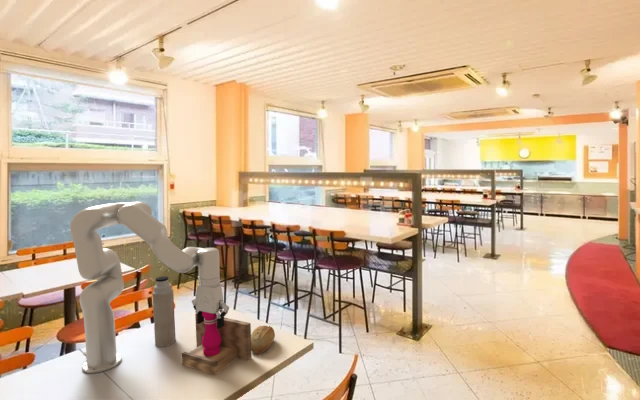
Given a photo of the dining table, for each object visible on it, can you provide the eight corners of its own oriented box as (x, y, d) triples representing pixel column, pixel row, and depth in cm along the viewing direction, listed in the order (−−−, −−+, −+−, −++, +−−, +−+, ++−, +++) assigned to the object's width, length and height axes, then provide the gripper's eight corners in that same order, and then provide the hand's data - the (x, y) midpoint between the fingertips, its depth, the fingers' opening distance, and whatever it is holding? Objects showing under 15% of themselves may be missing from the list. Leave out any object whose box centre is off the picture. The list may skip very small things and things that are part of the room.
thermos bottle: (175, 336, 155) (172, 273, 152) (175, 344, 147) (172, 279, 145) (155, 339, 152) (152, 276, 149) (154, 348, 144) (150, 281, 142)
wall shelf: (172, 361, 134) (170, 326, 133) (200, 344, 147) (198, 311, 146) (226, 378, 123) (225, 339, 122) (251, 358, 136) (250, 323, 135)
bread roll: (278, 338, 152) (278, 320, 151) (268, 356, 137) (268, 337, 137) (257, 337, 153) (257, 319, 153) (245, 355, 139) (244, 335, 138)
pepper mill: (216, 358, 131) (214, 305, 129) (198, 356, 132) (196, 304, 130) (225, 348, 138) (223, 298, 136) (208, 346, 139) (206, 297, 138)
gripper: (184, 280, 133) (186, 324, 134) (220, 287, 126) (221, 333, 127) (199, 275, 140) (200, 317, 141) (234, 281, 132) (235, 325, 134)
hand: (210, 324), depth 134 cm, fingers open, 9 cm apart
